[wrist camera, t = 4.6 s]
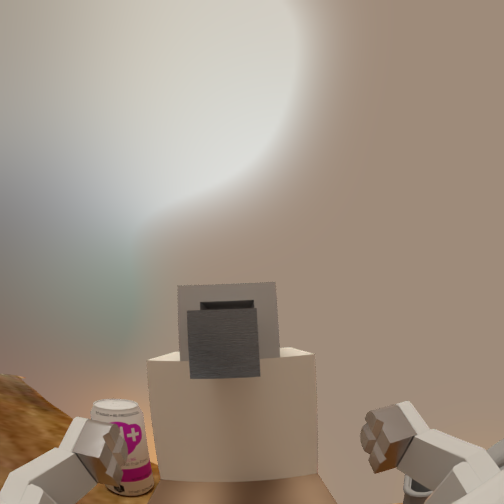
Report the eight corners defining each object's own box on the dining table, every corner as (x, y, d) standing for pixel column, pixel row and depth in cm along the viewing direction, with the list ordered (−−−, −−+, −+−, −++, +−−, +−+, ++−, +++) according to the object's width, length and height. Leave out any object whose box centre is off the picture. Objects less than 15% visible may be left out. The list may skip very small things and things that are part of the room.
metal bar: (189, 378, 11) (186, 310, 12) (218, 350, 31) (217, 323, 32) (260, 376, 12) (256, 308, 12) (246, 349, 31) (244, 322, 32)
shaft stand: (186, 576, 13) (144, 286, 20) (196, 528, 22) (173, 301, 30) (312, 570, 13) (309, 279, 21) (295, 523, 23) (286, 296, 31)
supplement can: (159, 495, 30) (145, 410, 34) (106, 498, 26) (87, 409, 30) (149, 474, 36) (138, 398, 40) (104, 475, 33) (90, 397, 36)
